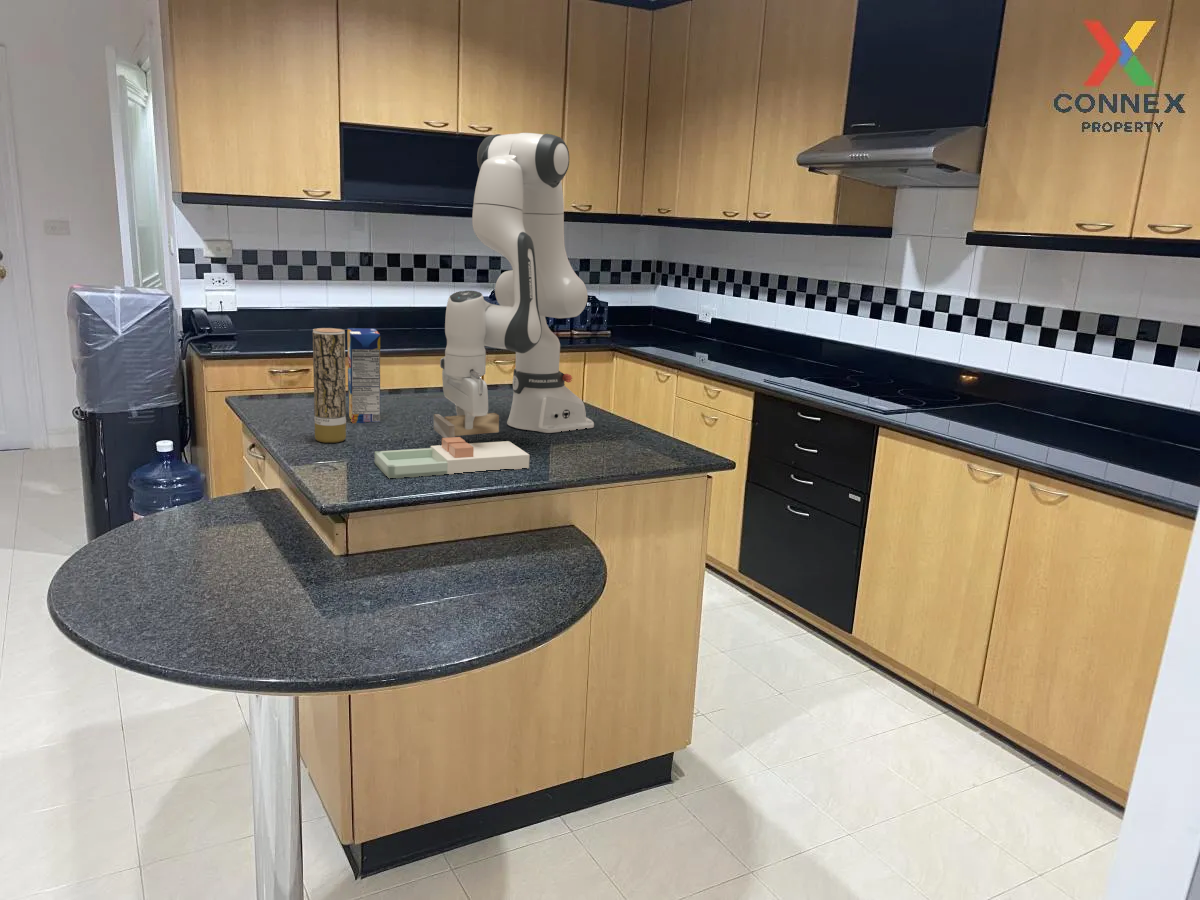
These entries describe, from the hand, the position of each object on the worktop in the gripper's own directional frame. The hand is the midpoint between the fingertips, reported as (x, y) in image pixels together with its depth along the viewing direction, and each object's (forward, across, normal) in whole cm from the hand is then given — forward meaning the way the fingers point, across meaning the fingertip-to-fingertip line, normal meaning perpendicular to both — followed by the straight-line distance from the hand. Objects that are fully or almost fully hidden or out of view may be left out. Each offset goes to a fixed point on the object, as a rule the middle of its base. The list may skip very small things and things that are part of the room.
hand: (465, 426), depth 200 cm
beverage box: (+6, +35, +15) cm, 38 cm away
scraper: (+2, 0, -1) cm, 2 cm away
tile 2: (+2, -15, +6) cm, 16 cm away
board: (+5, -12, +1) cm, 13 cm away
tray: (+5, -12, +16) cm, 21 cm away
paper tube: (+5, +15, +27) cm, 31 cm away
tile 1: (+2, -10, +6) cm, 12 cm away
